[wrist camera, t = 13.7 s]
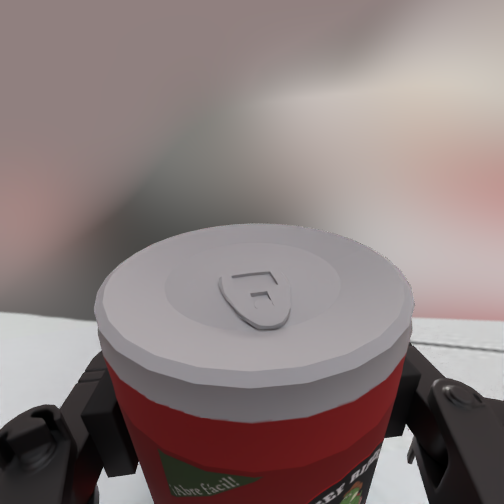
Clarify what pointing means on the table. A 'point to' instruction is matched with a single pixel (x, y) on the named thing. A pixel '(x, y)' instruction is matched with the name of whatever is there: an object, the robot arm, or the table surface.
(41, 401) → the table surface
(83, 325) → the table surface
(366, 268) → the canned food
